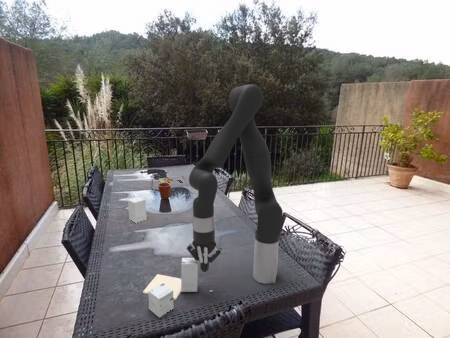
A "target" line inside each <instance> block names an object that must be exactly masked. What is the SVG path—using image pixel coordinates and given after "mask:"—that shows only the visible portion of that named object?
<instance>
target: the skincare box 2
mask: <svg viewBox="0 0 450 338" xmlns="http://www.w3.org/2000/svg"><path fill="white" fill-rule="evenodd" d="M180 264H181V266H180V267H181V270H180V271H181V274H180V275H181V276H180V277H181V278H180V279H181V293H192V292H193V293H197V292H198V281H199V280H198V277H199V276H198V275H199V261H198V260H197V261H196V260H195V259H194V258H193V257H182V258H181V263H180Z"/></svg>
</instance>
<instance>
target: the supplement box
mask: <svg viewBox="0 0 450 338" xmlns="http://www.w3.org/2000/svg"><path fill="white" fill-rule="evenodd" d="M146 201H147V200H146V199H145V198H142V197H140V196H137V197H136V196H135V197H133V198H130V199H127V209H128V220H129V219H130V220H132V221H133V222H132V221H131V222H132V223H134V222H135V223H136V224H138V223H137V222H139V223H141V222H140V221H142V222H144V221H143V220H145V221H147V220H148V219H147V202H146ZM130 220H129V221H130ZM135 223H134V224H135Z"/></svg>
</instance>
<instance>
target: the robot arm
mask: <svg viewBox="0 0 450 338" xmlns="http://www.w3.org/2000/svg"><path fill="white" fill-rule="evenodd" d="M228 101H229V105H230V110H231V113H232V114H231V116H230V118H229V119H228V121H227V122H226V123H225V124H224V125H223V127H222V128H221V129H220V130H219V131H218V132H217V133H216V135H215V136H214V137H213V139H212V141H211V143H210V145H209V146H208V148H207V150H206V152H205V154H204V156H202V158H201V159H199V161H198V162H197V163H196V164H195V166H194V167H193V168H192V170H191V172H190V174H189V177H188V184H189V186H190V187H191V188H193V189H195V190H196V191H198V192H197V193H198V195H197V197H195V198H194V199H193V202H192V214H193V216H192V239H193V240H192V242H191V243H189V244H188V246H187V247H186V250H187V251H188V253H189V254H190V255H191V256H192V258H194V259H195V260H196V261H197V260H198V262H199V263H200V264H199V265H200V270H201V272H202V273H207V272H208V270H209V269H210V264H212V262H214V261H215V260H216V258H218V257H219V255H221V253H222V251H223V248H222V247H218V246H217V242H216V235H215V234H216V233H215V232H216V227H215V226H216V224H215V223H216V222H215V208H214V207H215V199H216V195H217V193H218V192H217V191H218V188H219V187H218V180H217V177H216V175H215V174H214V173H213V172H214V170H216V169H221V168H222V167H223V166H224V164H225V162H226V160H227V159H228V157H229V155H230V153H231V151H232V149H233V147H234V145H235V144H236V142H237V140H238V139H239V140H240V144H241V149H242V150H241V151H242V155H243V158H244V163H245V168H246V172H247V175H248V178H249V181H250V183H251V186H252V191H253V200H254V210H255V213H256V216H257V225H256V226H257V227H256V229H255V232H254V251H253V253H254V254H253V271H252V278H253V279H254V280H255V281H256V282H257V283H260V284H265V285H268V284H276V281H277V274H278V263H279V262H278V261H279V244H280V243H279V242H280V236H281V234H282V228H283V217H284V216H283V215H284V212H283V208H282V206H281V205H280V203H279V202H278V200H277V198H276V195H275V193H274V189H273V186H272V161H271V155H270V151H269V147H268V145H267V142H266V140H265V139H264V136H263V135H262V134H261V131H260V130H259V128H258V126H257V124H256V121H255V117H254V116H255V115H256V113H257V112H258V111H259V109H260V108H261V106H262V103H263V101H264V95H263V90H262V89H261V88H260V87H259V86H258V85H256V84H252V83H251V84H243V85H239V86H237V87H234V88H233V89H232V90H231V91H230V94H229V99H228ZM212 252H214V253H213V254H212V255H211V253H212ZM210 255H211V256H210Z"/></svg>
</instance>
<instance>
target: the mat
mask: <svg viewBox="0 0 450 338" xmlns="http://www.w3.org/2000/svg"><path fill="white" fill-rule="evenodd" d="M162 283H164V284H165V285H167V286H168V287H169V288H171V289H172V290H173V301H176V300H177V299H178V298H179V296H180V294H181V293H182V292H181V278H178V277H174V276H169V275H165V274H158V273H157V274H156V275H155V276H154V278H153V279H152V280H151V281H150V282H149V284H148V285H147V286H146V287H145V289H144V290H143V291H142V293H143V294H145V295H148V291H149V290H151V289H153V288H154V287H156V286H158V285H160V284H162Z"/></svg>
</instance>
